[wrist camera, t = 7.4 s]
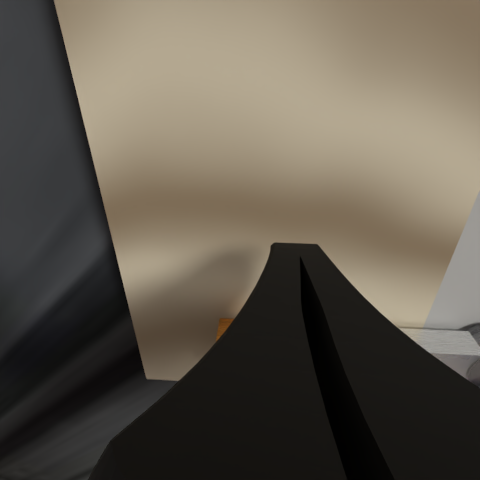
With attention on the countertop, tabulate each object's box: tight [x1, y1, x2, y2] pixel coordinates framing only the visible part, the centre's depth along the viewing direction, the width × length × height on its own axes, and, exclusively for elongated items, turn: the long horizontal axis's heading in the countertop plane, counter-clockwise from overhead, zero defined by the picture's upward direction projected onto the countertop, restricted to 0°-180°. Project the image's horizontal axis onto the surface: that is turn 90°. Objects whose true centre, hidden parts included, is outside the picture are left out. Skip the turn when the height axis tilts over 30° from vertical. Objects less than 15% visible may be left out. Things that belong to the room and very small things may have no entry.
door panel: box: [54, 0, 480, 381], centre depth 12 cm, size 18×12×2 cm
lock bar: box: [216, 318, 480, 388], centre depth 13 cm, size 12×2×1 cm, turn 90°
